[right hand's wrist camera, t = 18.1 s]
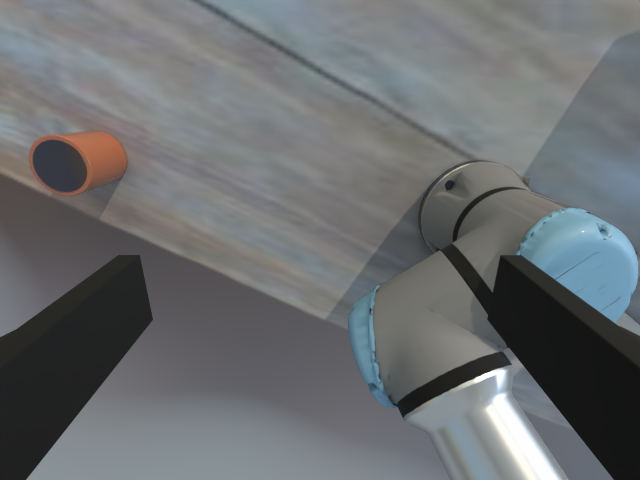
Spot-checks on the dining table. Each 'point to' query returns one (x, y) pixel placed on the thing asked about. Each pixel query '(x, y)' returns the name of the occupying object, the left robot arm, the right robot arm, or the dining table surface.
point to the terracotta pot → (77, 161)
